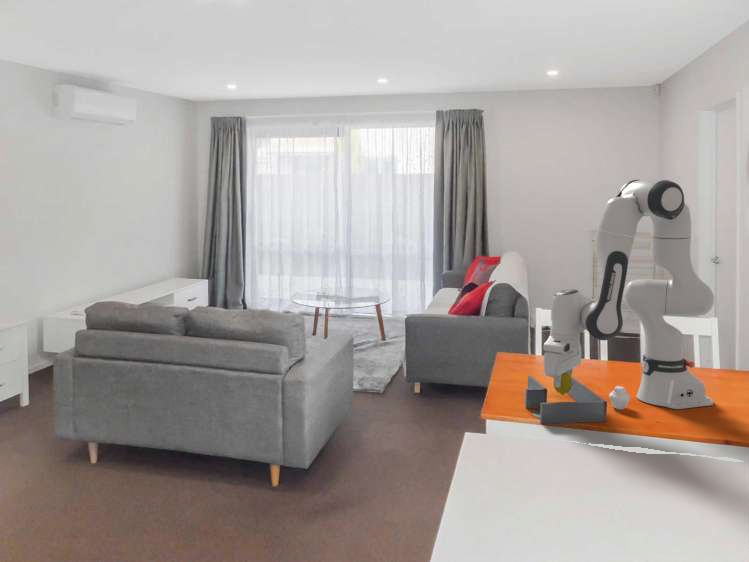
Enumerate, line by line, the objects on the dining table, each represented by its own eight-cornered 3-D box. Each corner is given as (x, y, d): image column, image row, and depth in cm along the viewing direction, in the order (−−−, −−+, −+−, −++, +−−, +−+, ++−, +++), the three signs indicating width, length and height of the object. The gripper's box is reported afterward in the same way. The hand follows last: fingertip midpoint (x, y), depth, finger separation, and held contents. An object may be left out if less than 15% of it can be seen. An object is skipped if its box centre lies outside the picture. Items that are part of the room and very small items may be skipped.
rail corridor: (568, 391, 204) (568, 374, 204) (606, 421, 177) (607, 401, 176) (511, 393, 203) (512, 376, 202) (541, 423, 176) (541, 403, 175)
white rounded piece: (604, 404, 192) (606, 383, 191) (623, 404, 192) (624, 382, 191) (614, 411, 186) (615, 389, 185) (633, 411, 186) (634, 388, 185)
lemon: (572, 398, 188) (573, 373, 187) (553, 397, 190) (554, 372, 189) (570, 392, 194) (571, 368, 193) (552, 391, 195) (553, 367, 194)
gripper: (568, 334, 199) (566, 375, 201) (540, 345, 184) (539, 390, 186) (587, 337, 195) (585, 378, 197) (560, 349, 180) (559, 394, 182)
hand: (562, 384), depth 191 cm, fingers closed on lemon, 5 cm apart
